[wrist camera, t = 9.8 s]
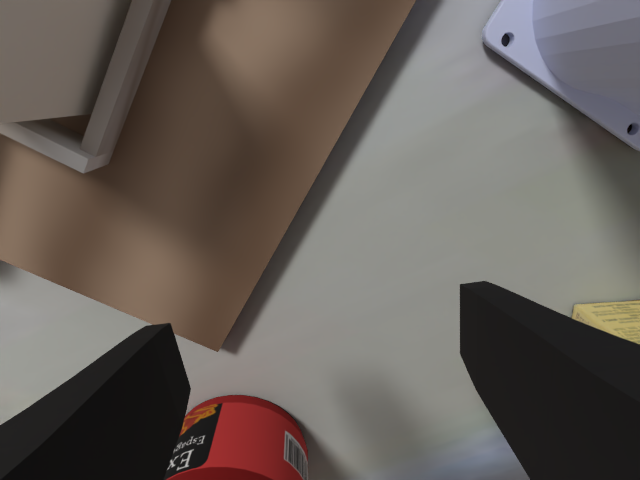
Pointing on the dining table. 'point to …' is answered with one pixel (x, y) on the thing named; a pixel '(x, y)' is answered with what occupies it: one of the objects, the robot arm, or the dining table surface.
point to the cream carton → (55, 55)
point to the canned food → (239, 442)
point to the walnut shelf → (190, 154)
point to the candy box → (612, 318)
